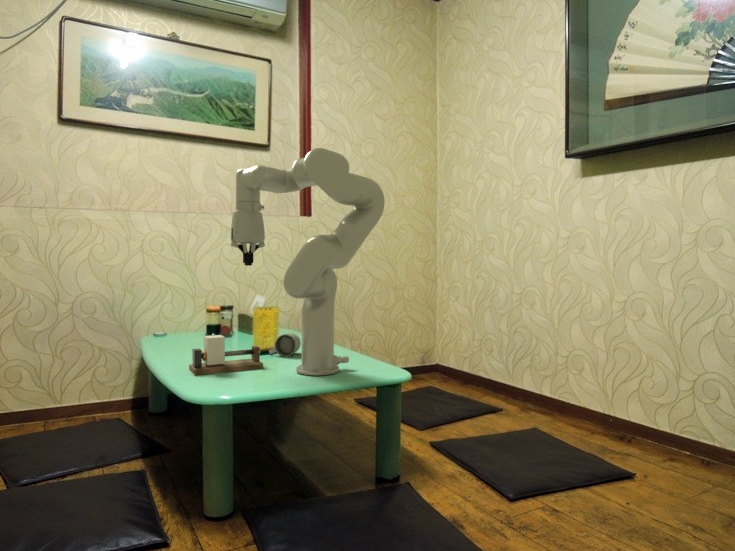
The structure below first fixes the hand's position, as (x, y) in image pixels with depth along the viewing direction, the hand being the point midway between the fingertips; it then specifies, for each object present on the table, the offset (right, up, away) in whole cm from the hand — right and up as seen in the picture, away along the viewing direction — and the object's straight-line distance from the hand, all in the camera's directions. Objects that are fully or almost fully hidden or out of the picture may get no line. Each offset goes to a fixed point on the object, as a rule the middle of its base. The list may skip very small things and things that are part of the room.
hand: (248, 265), depth 163 cm
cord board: (-4, -31, -10) cm, 33 cm away
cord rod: (-5, -30, -11) cm, 32 cm away
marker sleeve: (-7, -29, -12) cm, 33 cm away
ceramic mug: (+10, -31, +13) cm, 35 cm away
